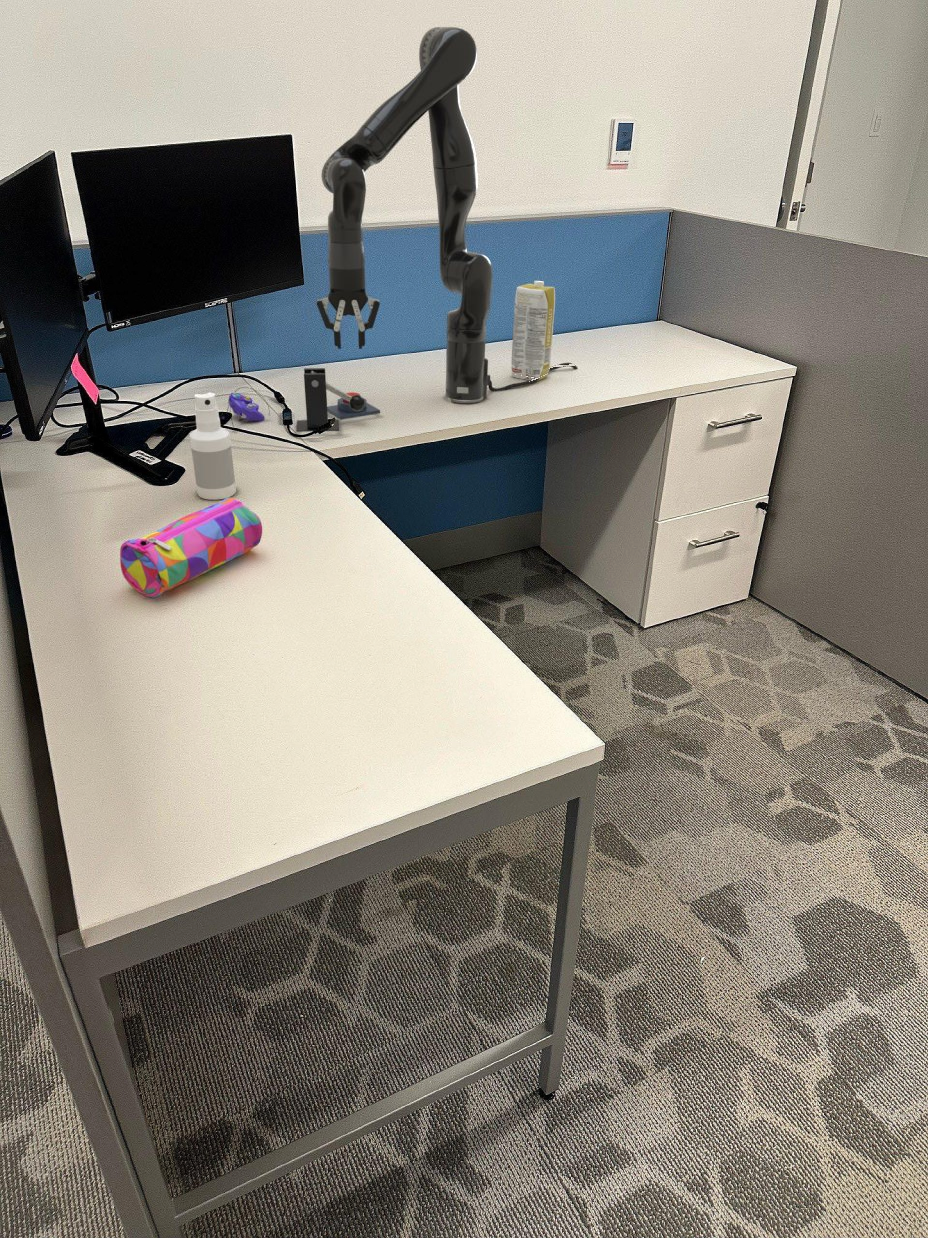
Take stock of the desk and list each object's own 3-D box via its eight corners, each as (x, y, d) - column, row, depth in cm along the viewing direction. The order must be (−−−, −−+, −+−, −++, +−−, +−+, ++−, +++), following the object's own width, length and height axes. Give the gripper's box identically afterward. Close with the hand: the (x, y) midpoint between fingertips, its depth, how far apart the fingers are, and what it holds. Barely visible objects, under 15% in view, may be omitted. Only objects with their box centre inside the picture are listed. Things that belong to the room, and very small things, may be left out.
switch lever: (359, 410, 189) (367, 397, 188) (360, 415, 186) (368, 402, 185) (305, 381, 184) (312, 367, 183) (305, 385, 182) (312, 371, 180)
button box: (364, 407, 203) (363, 392, 201) (380, 417, 197) (380, 402, 196) (325, 413, 198) (324, 398, 197) (340, 423, 193) (339, 408, 191)
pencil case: (161, 610, 121) (151, 552, 116) (116, 591, 125) (105, 535, 120) (270, 553, 137) (265, 500, 132) (226, 538, 141) (220, 486, 136)
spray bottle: (202, 502, 153) (188, 402, 144) (193, 489, 158) (179, 391, 149) (240, 496, 156) (229, 397, 147) (230, 483, 161) (219, 387, 152)
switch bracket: (338, 424, 192) (335, 366, 186) (339, 435, 186) (336, 375, 180) (297, 425, 191) (293, 366, 184) (296, 435, 185) (292, 375, 178)
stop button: (355, 398, 198) (355, 391, 198) (362, 403, 196) (362, 395, 195) (341, 401, 197) (341, 393, 196) (348, 405, 194) (348, 397, 193)
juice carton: (552, 376, 231) (560, 281, 218) (538, 383, 225) (545, 285, 213) (521, 370, 235) (527, 277, 223) (507, 377, 229) (512, 281, 217)
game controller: (280, 406, 190) (241, 406, 183) (270, 438, 194) (232, 439, 187) (256, 383, 194) (217, 382, 187) (247, 415, 199) (208, 415, 191)
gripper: (312, 267, 177) (317, 352, 186) (381, 267, 179) (383, 352, 188) (312, 261, 184) (317, 344, 192) (379, 261, 186) (381, 343, 194)
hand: (350, 347), depth 190 cm, fingers open, 4 cm apart
